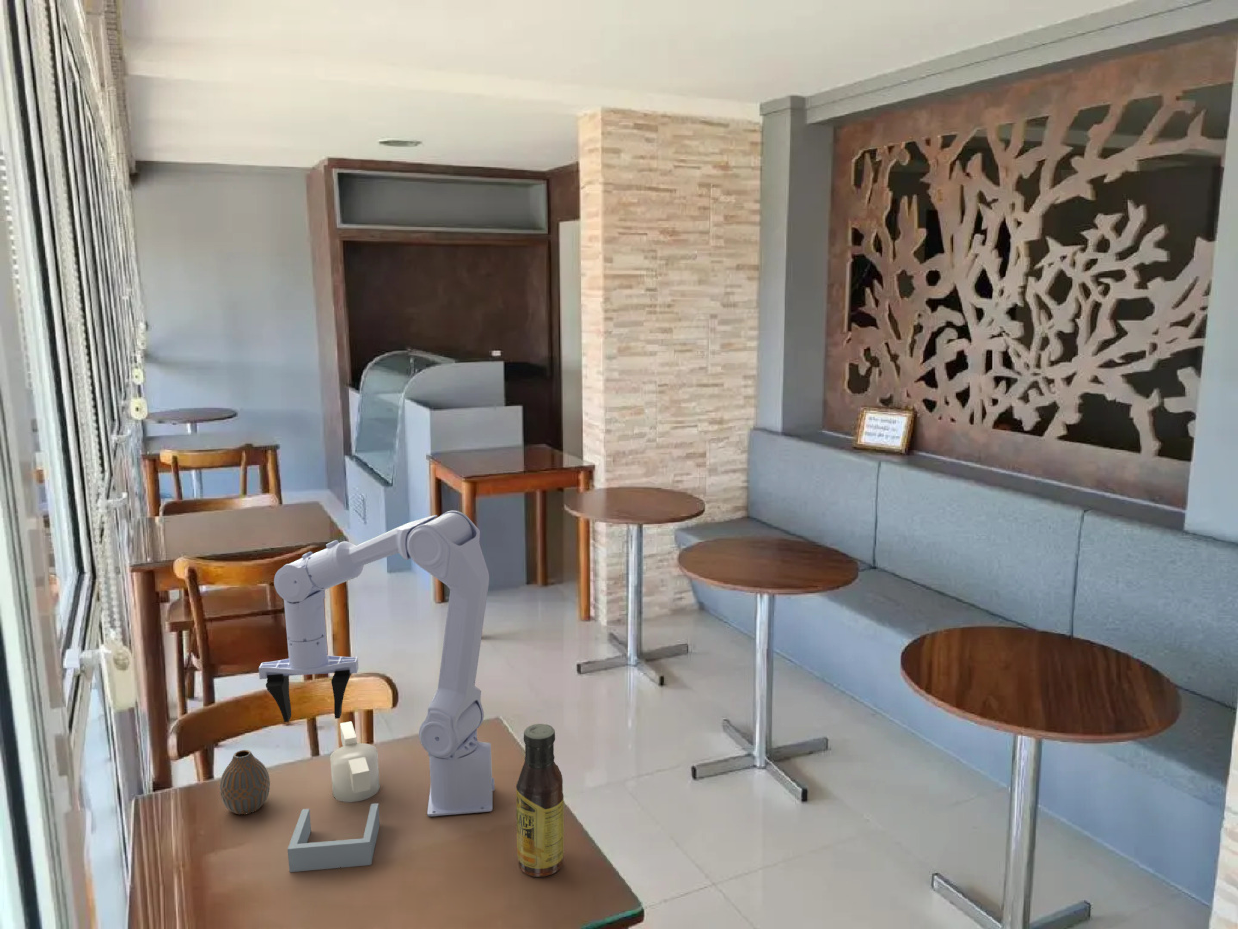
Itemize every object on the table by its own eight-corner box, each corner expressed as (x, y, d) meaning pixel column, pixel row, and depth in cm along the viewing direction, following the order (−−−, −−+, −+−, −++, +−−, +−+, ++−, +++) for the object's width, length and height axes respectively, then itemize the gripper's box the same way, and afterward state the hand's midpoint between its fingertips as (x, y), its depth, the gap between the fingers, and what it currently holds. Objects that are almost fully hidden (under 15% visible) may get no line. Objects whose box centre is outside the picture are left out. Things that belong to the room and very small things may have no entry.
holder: (379, 824, 134) (378, 803, 133) (371, 865, 124) (369, 842, 124) (303, 831, 132) (302, 809, 132) (289, 872, 123) (287, 849, 122)
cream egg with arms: (326, 766, 150) (323, 726, 149) (370, 757, 153) (367, 718, 152) (339, 821, 135) (335, 777, 133) (387, 810, 137) (385, 767, 136)
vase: (279, 796, 142) (275, 743, 140) (258, 821, 135) (253, 766, 133) (236, 794, 142) (232, 741, 141) (213, 819, 136) (207, 764, 134)
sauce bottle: (511, 858, 125) (507, 722, 122) (555, 847, 128) (551, 713, 124) (526, 886, 120) (522, 744, 116) (571, 874, 122) (568, 735, 118)
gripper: (358, 623, 147) (364, 703, 149) (263, 628, 145) (270, 709, 148) (352, 639, 140) (357, 723, 143) (252, 645, 138) (260, 729, 141)
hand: (313, 717), depth 145 cm, fingers open, 7 cm apart
